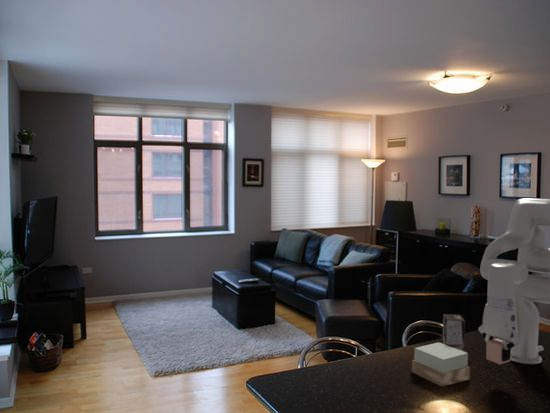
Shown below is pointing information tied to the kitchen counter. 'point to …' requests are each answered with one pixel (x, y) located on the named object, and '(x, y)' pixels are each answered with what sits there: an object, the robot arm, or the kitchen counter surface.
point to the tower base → (441, 374)
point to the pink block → (495, 351)
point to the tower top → (441, 357)
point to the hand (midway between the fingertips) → (497, 356)
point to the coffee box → (453, 331)
